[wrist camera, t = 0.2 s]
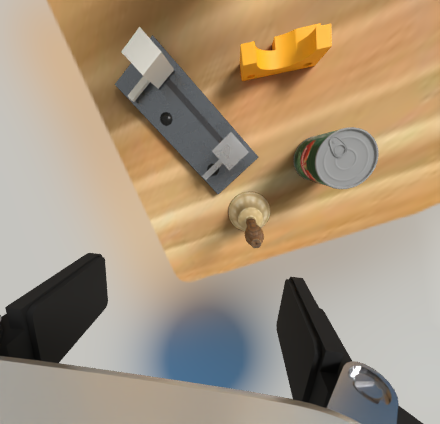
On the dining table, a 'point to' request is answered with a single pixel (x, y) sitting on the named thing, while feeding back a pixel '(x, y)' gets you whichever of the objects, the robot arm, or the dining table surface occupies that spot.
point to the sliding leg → (146, 62)
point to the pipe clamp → (286, 52)
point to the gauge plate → (191, 124)
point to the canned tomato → (337, 158)
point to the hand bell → (250, 216)
